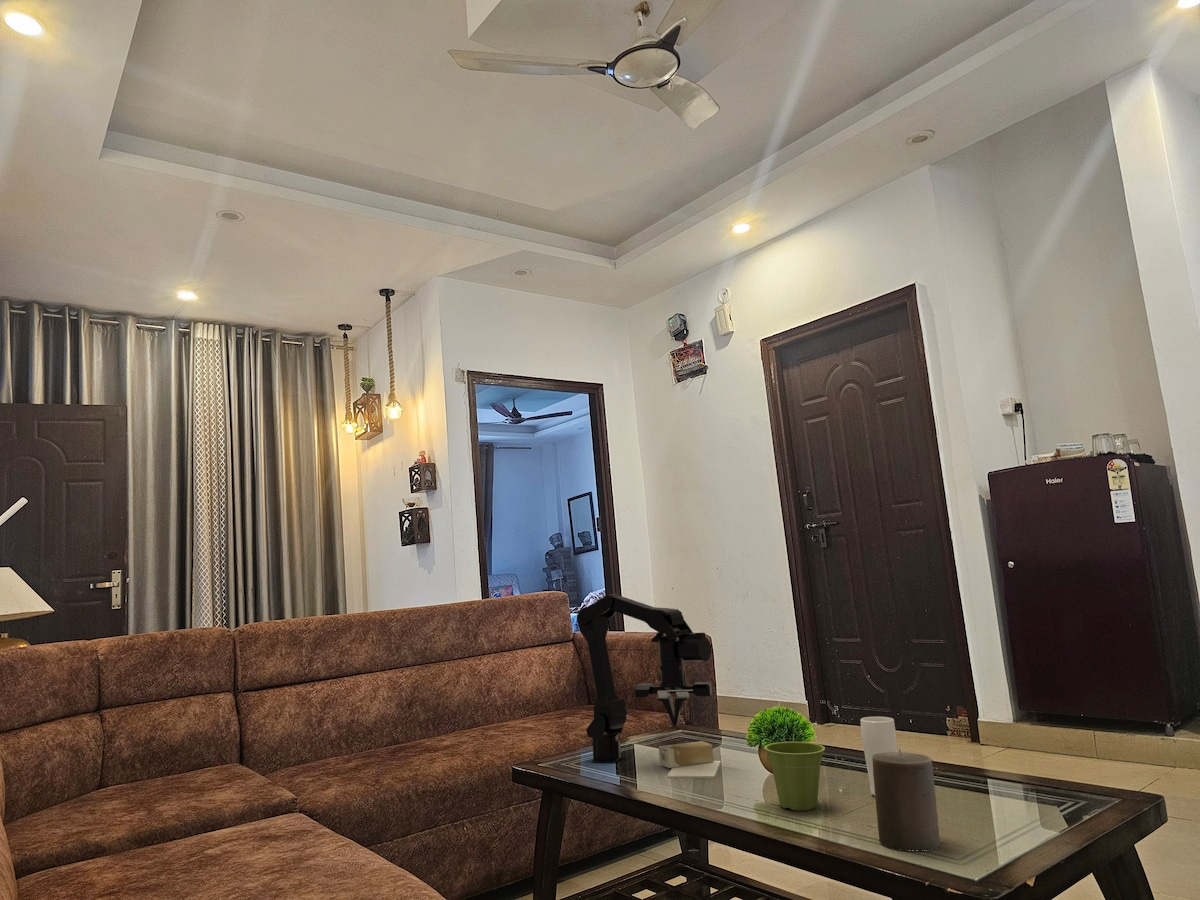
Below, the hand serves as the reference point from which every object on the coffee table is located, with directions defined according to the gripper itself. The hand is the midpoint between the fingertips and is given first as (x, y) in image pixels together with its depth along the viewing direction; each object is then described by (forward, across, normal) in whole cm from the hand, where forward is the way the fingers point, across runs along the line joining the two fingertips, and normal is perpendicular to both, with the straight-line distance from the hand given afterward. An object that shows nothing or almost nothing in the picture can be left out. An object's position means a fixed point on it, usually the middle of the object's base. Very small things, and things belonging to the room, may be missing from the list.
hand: (675, 726), depth 195 cm
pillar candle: (+11, -47, +52) cm, 71 cm away
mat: (+10, -4, 0) cm, 11 cm away
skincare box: (+8, +4, -2) cm, 9 cm away
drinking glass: (+11, -46, +22) cm, 52 cm away
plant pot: (+11, -29, +31) cm, 43 cm away
